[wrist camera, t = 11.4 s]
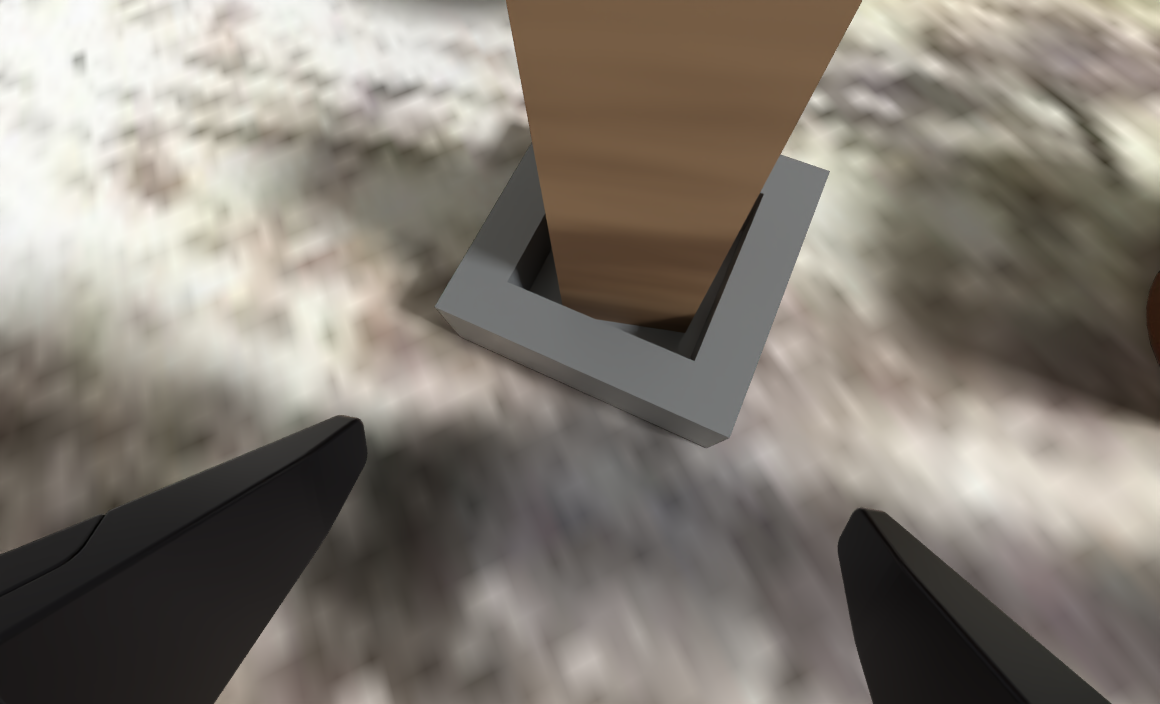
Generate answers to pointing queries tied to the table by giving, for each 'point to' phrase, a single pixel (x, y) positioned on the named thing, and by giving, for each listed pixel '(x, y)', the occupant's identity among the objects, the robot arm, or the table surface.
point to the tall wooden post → (661, 135)
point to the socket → (629, 352)
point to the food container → (1154, 316)
